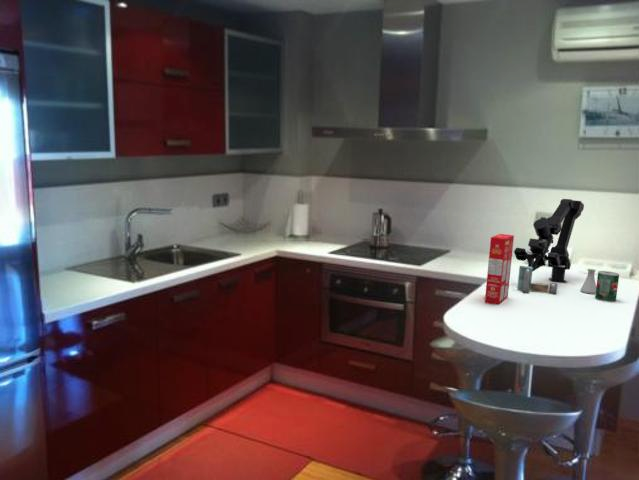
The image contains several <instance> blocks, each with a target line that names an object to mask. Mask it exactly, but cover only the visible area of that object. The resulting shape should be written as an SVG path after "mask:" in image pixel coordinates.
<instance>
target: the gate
mask: <svg viewBox="0 0 639 480" xmlns="http://www.w3.org/2000/svg"><path fill="white" fill-rule="evenodd" d="M525 269H531V276H530V286H529V292H540V293H548V294H549V284H543V283H542V284H541V283H532V277H533V272H532V270H533V268H532V267H528V265H527V266H525V265H519V268H518V278H517V285H516V286H517V290H518V291H522V292H523V284H524V274H525Z"/></svg>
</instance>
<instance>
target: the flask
mask: <svg viewBox="0 0 639 480" xmlns="http://www.w3.org/2000/svg"><path fill="white" fill-rule="evenodd" d="M595 275H596V269H593V268H587V274H586V278H585V281H584V282H583V284H582V286H581V288H580V289H579V290H580V292H581V293H585V294H591V295H595V293H596V285H597V282H596V279H595V278H596V277H595Z"/></svg>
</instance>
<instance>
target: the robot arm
mask: <svg viewBox="0 0 639 480" xmlns="http://www.w3.org/2000/svg"><path fill="white" fill-rule="evenodd" d="M584 208H585V205H584V203H583V202H582V201H581V200H577V199H576V200H574V199H572V198H571V199H570V198H563V199H561V200H560V203H559V204H558V206H557V208H556V209H555V211H554V212H553V213H552V215H551V216H549V217H547V218H546V217H542V216H541V218H540V219H537V220H536V221H534V222H533V229H534V231H535V234H536V236H537V237H538V238H529V241H528V244H527V246H528V247H529V251H527V250H526V248H523V247H516V248H515V249H514V250H513V253H514V255H515V258H516V260H517V261H521V262H524V261H527V263H528V265H527V266H528V267H532V268H533V270H532V273H533V272H535V271H536V270H538V269H539V268H541V267H544V266H546V262H547V266H548V268H549V267H551V274H550V275H551V277H548V279H549V280H550V281H551V282H555V283H556V282H557V283H567V281H566V279H565V276H566V270H567V271H568V270H571V265H572V263H571V260H570V258H569V257H570V254H569V251H568V247H569V243H570V240H571V235H572V232H573V229H574V225H575V222H576V220H577V219H578V218H579V217H581V216H582V212H583V211H584ZM553 235H555V236H558V238H557V243H556V245H555V246H552V247H551V248H550V246H551V244H554V236H553ZM549 249H550V250H549Z"/></svg>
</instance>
